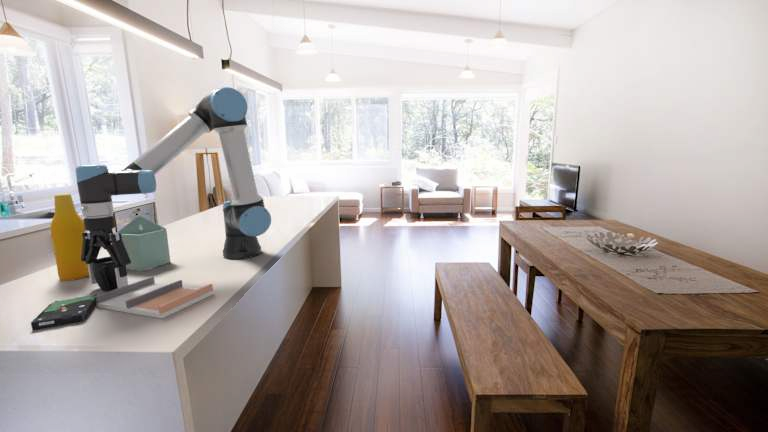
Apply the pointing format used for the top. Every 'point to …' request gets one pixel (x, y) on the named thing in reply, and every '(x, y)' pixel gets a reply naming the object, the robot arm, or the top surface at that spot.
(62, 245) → the beer bottle
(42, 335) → the top surface
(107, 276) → the mug
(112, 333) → the top surface
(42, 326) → the disk drive
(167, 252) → the planter
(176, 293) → the slot rack
